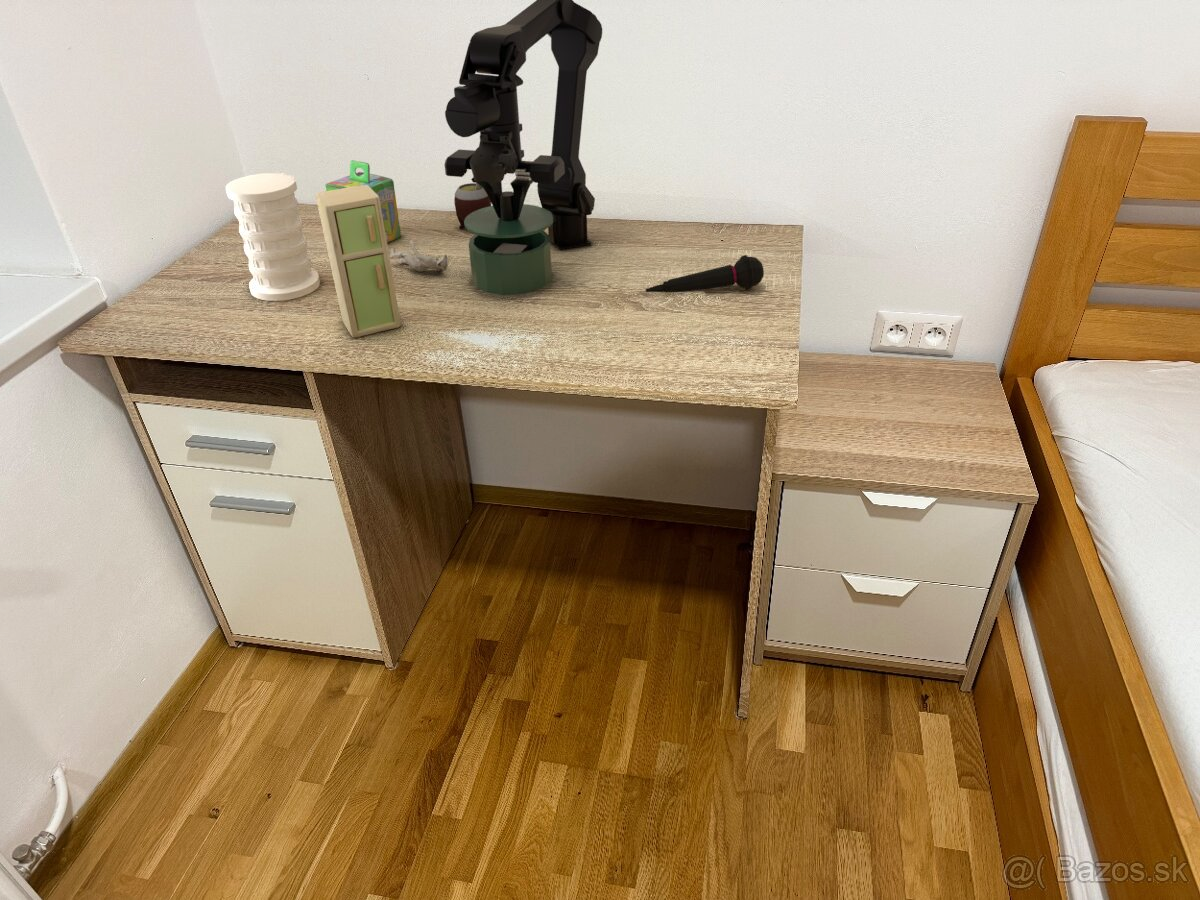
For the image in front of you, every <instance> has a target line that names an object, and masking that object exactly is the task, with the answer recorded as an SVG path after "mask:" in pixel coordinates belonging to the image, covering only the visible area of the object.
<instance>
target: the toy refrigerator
mask: <svg viewBox="0 0 1200 900" xmlns="http://www.w3.org/2000/svg"><path fill="white" fill-rule="evenodd" d="M315 200H316V205H317V209H318V213H319V219H320V224H321V229H322V233H323V237H324V241H325V246H326V250H327V255H328V260H329V264H330V269H331V274H332V278H333V283H334V287H335V292H336V298H337V301H338V307H339V310H340V315H341V321H342V323H343V324H344V326H345V328H346V329H347V331H348V333H349V334H350V336H351V338H353V339H355V338H361V337H364V336H368V335H372V334H376V333H380V332H384V331H385V332H386V331H389V330H392V329H397V328H400V327H401V326H402V322H401V316H400V310H399V305H398V299H397V293H396V288H395V282H394V281H395V280H394V275H393V270H392V265H391V258H390V253H389V247H388V243H387V240H386V234H385V228H384V223H383V217H382V211H381V205H380V199H379V196H378V195H377V194H376V193H375V192H374V191H373V190H372V189H371V188H370V187H369V186H368V185H359V186H353V187H348V188H342V189H336V190H331V191H327V190H325V191H319V192H316V193H315Z"/></svg>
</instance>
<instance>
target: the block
mask: <svg viewBox="0 0 1200 900" xmlns="http://www.w3.org/2000/svg"><path fill="white" fill-rule="evenodd" d="M525 251H528V245H519V244H509V243H502V244H501V245H500V246H499V247H498V248H497V249H496V250H495V251H494V252H493V253H498V254H511V253H520V252H525Z"/></svg>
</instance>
